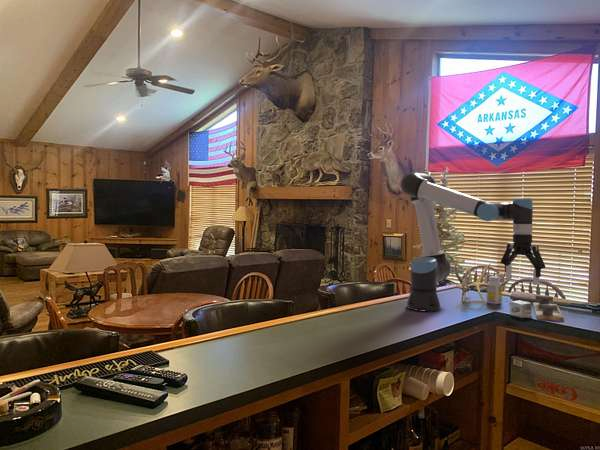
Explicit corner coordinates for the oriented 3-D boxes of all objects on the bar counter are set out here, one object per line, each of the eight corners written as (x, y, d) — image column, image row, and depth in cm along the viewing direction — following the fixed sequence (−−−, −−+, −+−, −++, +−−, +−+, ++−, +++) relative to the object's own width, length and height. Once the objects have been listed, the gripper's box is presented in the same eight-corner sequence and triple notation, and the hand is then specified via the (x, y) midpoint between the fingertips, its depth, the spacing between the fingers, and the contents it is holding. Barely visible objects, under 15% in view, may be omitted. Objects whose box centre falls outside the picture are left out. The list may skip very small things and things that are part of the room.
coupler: (507, 315, 198) (507, 301, 197) (521, 313, 202) (521, 299, 201) (519, 318, 192) (519, 304, 192) (533, 316, 196) (534, 302, 196)
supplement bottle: (498, 301, 224) (499, 275, 224) (503, 304, 218) (504, 278, 217) (485, 301, 225) (485, 275, 224) (489, 304, 219) (489, 277, 218)
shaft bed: (536, 318, 192) (536, 305, 191) (532, 305, 215) (533, 293, 215) (563, 321, 188) (563, 307, 187) (556, 307, 211) (557, 295, 211)
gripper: (492, 232, 205) (492, 278, 206) (543, 235, 182) (542, 287, 183) (504, 231, 208) (503, 277, 209) (555, 234, 185) (554, 286, 186)
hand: (521, 282), depth 196 cm, fingers open, 13 cm apart
